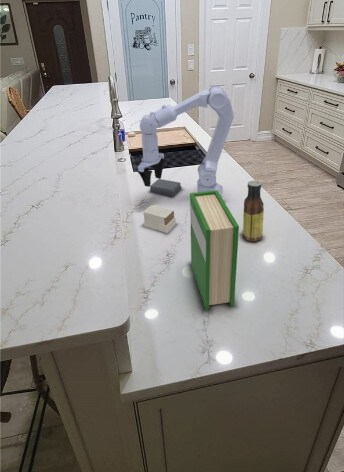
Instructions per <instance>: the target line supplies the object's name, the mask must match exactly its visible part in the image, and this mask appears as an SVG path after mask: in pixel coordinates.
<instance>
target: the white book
mask: <svg viewBox="0 0 344 472" xmlns="http://www.w3.org/2000/svg"><path fill="white" fill-rule="evenodd" d="M173 218H175V210H173V209H171V208H170V209H169V208H166V207H163V206H158V205H155V204H151V205H150V206H149V207H147V208H146V209H145V210H144V211H143V220H144V219H146V220H149V221H153V222H156V223H160V224H163V225H167V224H168V223H169V222H170V221H171V220H172V219H173Z"/></svg>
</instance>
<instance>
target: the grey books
mask: <svg viewBox="0 0 344 472" xmlns="http://www.w3.org/2000/svg"><path fill="white" fill-rule="evenodd" d="M181 185H182V184H181V182H180V181H174V180H168V179H162V178H161V179H158V178H157V180H156V181H154V182H153V183H152V184H150V187H149V192H150V193H151V194H156V195H161V196H164V197H168V198H169V197H170V198H174V197H175V196H176V195H177V194H178V193H179V192H181V191H182V189H183V186H181Z"/></svg>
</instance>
